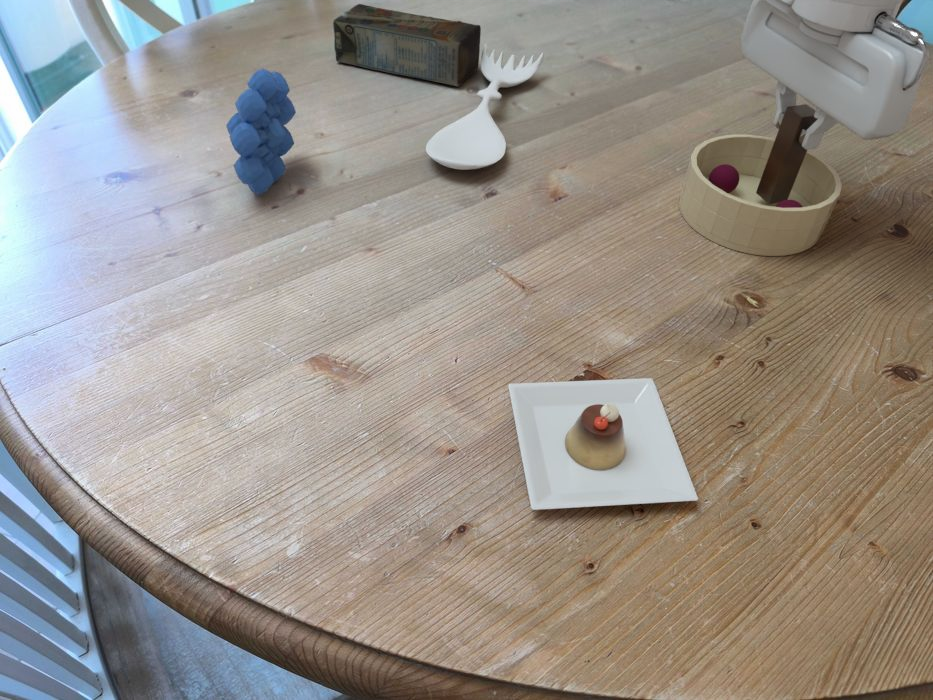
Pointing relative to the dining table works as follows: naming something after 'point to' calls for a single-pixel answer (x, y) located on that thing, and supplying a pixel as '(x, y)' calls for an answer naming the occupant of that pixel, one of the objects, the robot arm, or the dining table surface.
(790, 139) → the stick
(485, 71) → the spoon
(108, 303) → the dining table surface
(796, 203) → the berry
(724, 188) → the berry
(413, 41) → the beverage carton
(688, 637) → the dining table surface
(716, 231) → the bowl
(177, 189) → the dining table surface
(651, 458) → the dessert
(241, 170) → the grapes
